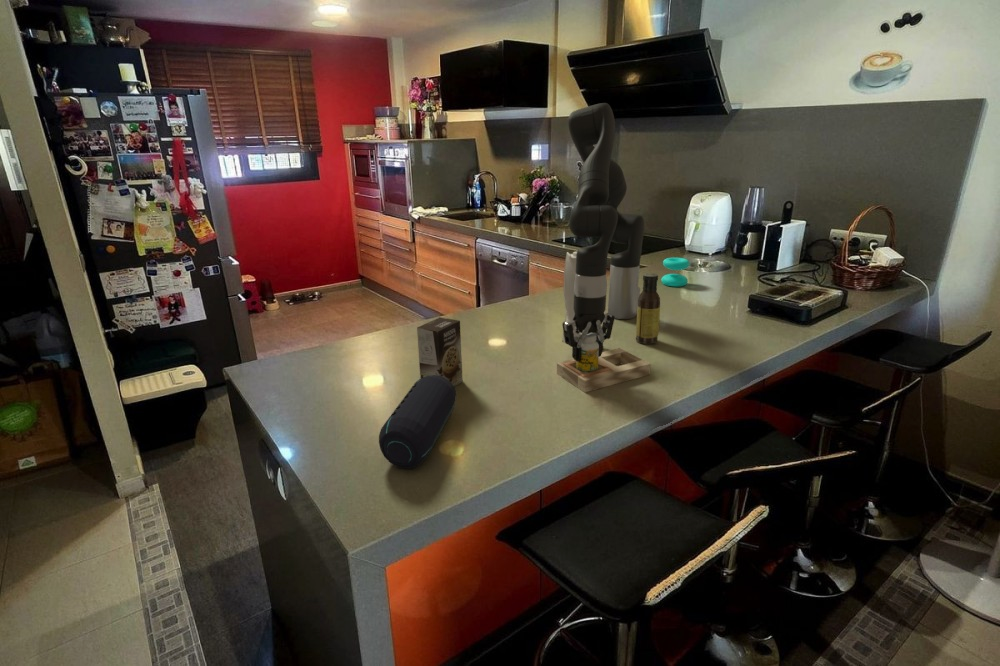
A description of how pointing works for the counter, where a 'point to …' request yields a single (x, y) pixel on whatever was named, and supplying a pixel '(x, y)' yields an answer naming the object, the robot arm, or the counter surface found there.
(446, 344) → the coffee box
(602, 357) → the cup caddy
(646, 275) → the sauce bottle
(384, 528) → the counter surface
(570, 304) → the skyscraper
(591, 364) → the supplement bottle
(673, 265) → the donuts
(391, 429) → the portable speaker
